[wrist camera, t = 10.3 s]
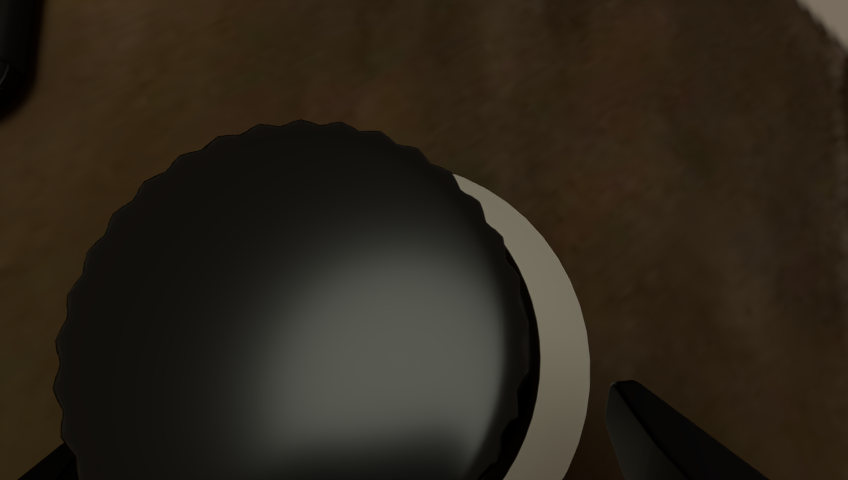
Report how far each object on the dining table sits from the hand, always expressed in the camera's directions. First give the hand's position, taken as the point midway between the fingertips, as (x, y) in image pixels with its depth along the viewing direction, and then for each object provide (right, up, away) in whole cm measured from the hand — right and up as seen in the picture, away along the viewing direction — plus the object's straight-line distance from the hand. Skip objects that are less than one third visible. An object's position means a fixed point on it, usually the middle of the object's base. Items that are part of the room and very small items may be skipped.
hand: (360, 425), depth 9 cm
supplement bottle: (0, -1, +8) cm, 8 cm away
